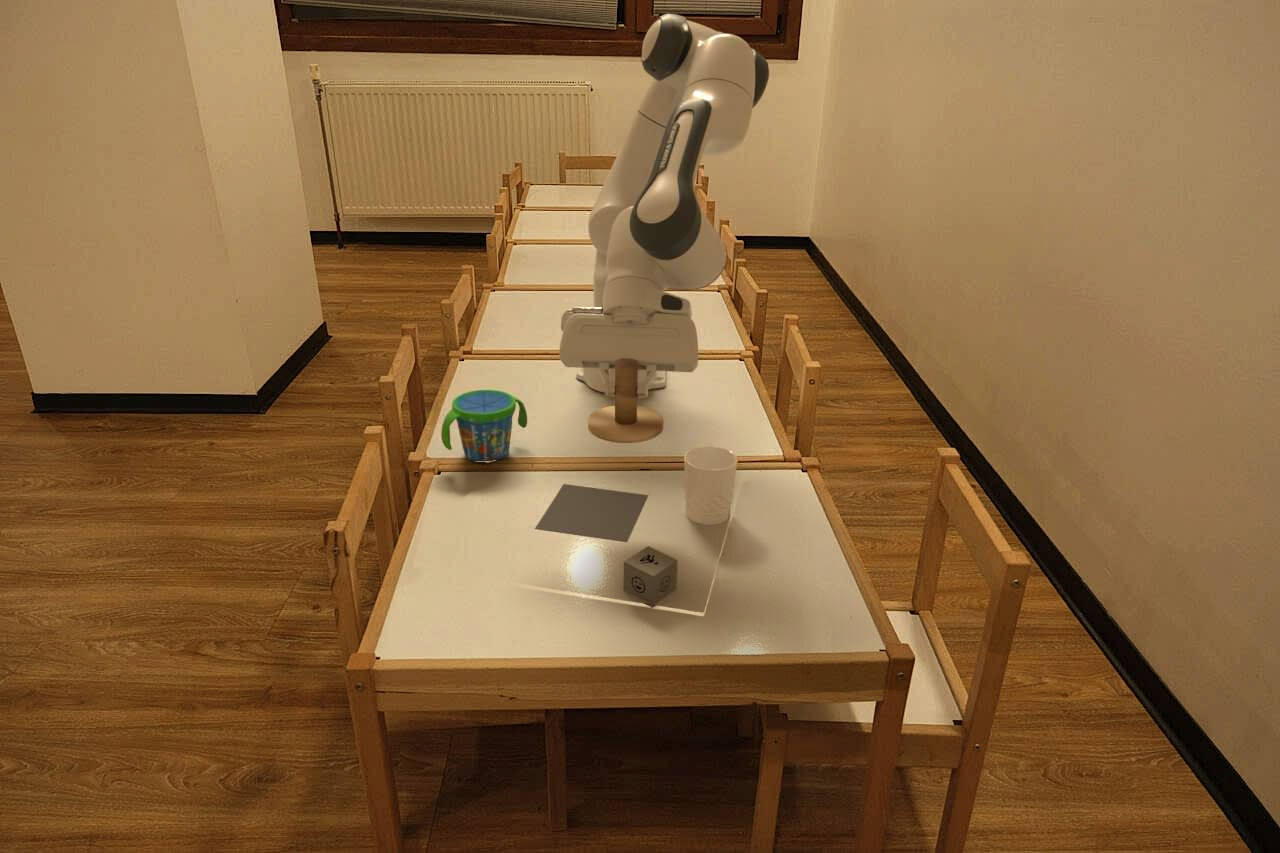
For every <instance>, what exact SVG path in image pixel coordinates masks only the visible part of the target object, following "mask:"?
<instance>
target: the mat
mask: <svg viewBox="0 0 1280 853" xmlns="http://www.w3.org/2000/svg"><path fill="white" fill-rule="evenodd" d="M648 497H649V495H648V494H643V493H642V494H641V493H635V492H634V493H633V492H627V491H619V490H612V489H605V488H604V489H603V488H597V487H590V486H581V485H575V484H574V485H573V484H568V483H563V484H562V486H561V487H560V489H559V491H558V492H557V494H556V495H555V497H554V498H553V499H552V501H551V503H550V504H549V506H548V507H547V509H546V511H545V512H544V514H543V516H542V517H541V518H540V520H539V521H538V523H537V525H536V526H535V528H534V529H535V530H540V531H546V532H547V531H548V532H555V533H562V534H568V535H576V536H582V537H588V538H589V537H590V538H596V539H603V540H609V541H617V542H623V543H628V541H629V538H630V536H631V534H632V532H633V530H634V528H635V525H636V523H637V521H638V518H639V516H640V514H641V512H642V510H643V508H644V505H645V503H646V501H647V499H648Z"/></svg>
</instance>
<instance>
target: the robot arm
mask: <svg viewBox="0 0 1280 853" xmlns="http://www.w3.org/2000/svg"><path fill="white" fill-rule="evenodd" d="M640 61H641V65H642V68H643V71H644V72H646V73H647V74H648V75H649V76H650V77H652V78H653V79H652V80H651V82H650V83H649V86H648V87H647V88H646V91H645V92H644V95H643V97H642V99H641V101H640V103H639V104H638V107H637V109H636V112H635V114H634V116H633V119H632V121H631V122H630V123H631V124H630V127H629V129H628V130H627V133H626V135H625V138H624V141H623V143H622V145H621V147H620V149H619V151H618V153H617V156H616V157H615V159H614V162H613V163H612V166H611V169H610V170H609V172H608V173H607V174H608V175H607V176H606V179H605V181H604V183H603V186H602V187H601V189H600V191H599V194H598V196H597V199H596V201H595V203H594V205H593V207H592V210H591V212H590V214H589V217H588V222H587V229H588V231H587V232H588V234H589V239H590V241H591V244H592V245H593V247H594V248H595V250H596V251H595V252H596V253H595V264H594V270H593V271H594V272H593V306H589V307H582V306H573V307H572V309H571V308H570V309H567V310H566V311H564V313H563V314H562V316H561V321H560V329H561V331H562V334H561V339H560V342H559V343H560V344H559V348H558V349H559V350H558V356H559V359H560V361H561V363H562V364H563V365H564V367H566V368H577V369H578V371H576V376H575V378H576V379H578V380H580V381H583V382H584V383H585V384H586V385H587V386H588V387H589V388H591V389H593V390H595V391H597V392H600V393H604V395H605V397H615V361H616V360H619V359H624V358H629V359H634V360H636V361H637V362H638V382H637V398H640V399H641V398H642V399H643V398H644V399H646V398H647V399H648V395H649V394H648V393H649V392H648V391H649V390H652V389H653V390H654V389H660V388H661V389H662V388H664V387H666V384H667V381H666V380H667V372H672V373H675V372H676V373H693V372H694V371H695V370H696V369H697V368H698V366H699V342H698V340H699V338H698V334H697V333H698V332H697V328H696V324H695V322H694V321H693V319H692V316H693V315H692V314H693V313H692V312H693V311H692V310H693V309H692V305H691V302H690V300H688V299H687V298H685V297H681V296H677V295H674V294H671V293H669V292H666V291H664V290H665V289H666V290H672V291H690V290H692V291H693V290H700V289H704V288H706V287H707V286H710V285H711V284H713V283H714V282H715V281H717V279H719V277H721V275H722V273H723V271H724V270H725V268H726V266H727V265H726V264H727V261H728V249H727V247H726V245H725V243H724V241H723V239H722V238H721V236H720V235H719V233H718V231H717V230H716V229H715V227H714V225H713V224H712V223H711V221H710V220H709V218H708V217H707V215H706V214H705V212H704V211H703V209H702V207H701V205H700V202H699V200H698V198H697V194H696V191H695V182H696V178H697V176H698V171H699V168H700V165H701V160H702V158H703V157H718V156H723V155H727V154H729V153H731V152H733V151H735V150H736V149H737V148H739V147H740V146H741V144H743V142H744V140H745V138H746V135H747V133H748V130H749V126H750V123H751V118H752V115H753V114H752V112H753V108H755V107H756V106H757V104H758V103H759V101H760V100H761V99H762V97H763V94H764V93H765V91H766V88H767V85H768V82H769V77H770V69H769V62H768V61H767V59H766V58H765V57H764V56H763V55H761V54H760V53H759V52H758V51H757V50H755V49H754V48H752V47H751V46H750V45H749V44H748V42H747V41H745V40H744V39H743V38H741V37H740V36H738V35H735V34H732V33H724V32H722V31H717V30H714V29H713V28H711V27H709V26H708V27H707V26H706V25H703V24H700V23H698V22H695V21H691V20H688V19H687V18H686V17H685V16H683V15H679V14H676V13H664V14H662V15H661V16H658V17H657V19H656V20H655V21H654V22H653V24H652V25H651V26H650V27H649V28H648V30H647V32H646V34H645V37H644V39H643V42H642V47H641V58H640ZM579 368H581V369H579Z"/></svg>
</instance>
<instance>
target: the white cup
mask: <svg viewBox="0 0 1280 853" xmlns="http://www.w3.org/2000/svg"><path fill="white" fill-rule="evenodd" d="M683 460H684V461H683V462H684V466H683V467H684V470H683V472H684V473H683V475H684V476H683V477H684V478H683V480H684V484H683V485H684V486H683V487H684V500H685V502H684V503H685V509H684V510H685V516H686V517H687V519H689V520H690V521H691V522H694V523H697V524H699V525H706V526H707V525H709V526H713V525H715V526H716V525H719V524H720V525H721V524H722V523H724V522H726V521H728V519H729V517H730V515H731V506H732V502H733V497H734V496H733V495H734V489H735V482H736V474H737V466H738V456H737V455H736V454H735V453H734V452H733V451H731V450H730V449H727V448H724V447H720V446H713V445H702V446H701V445H700V446H695V447H693V448H691V449H689V450H687V451H686V452H685V454H684V458H683Z"/></svg>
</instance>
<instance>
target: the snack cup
mask: <svg viewBox="0 0 1280 853" xmlns="http://www.w3.org/2000/svg"><path fill="white" fill-rule="evenodd" d="M516 404H517V405H518V407H519V409H518V410H519V411H518V417H517V424H518V425H519V426H520V427H521V428H527V426H528V414H527V410H526V409H527V408H526V407H525V405H524V403H523V402H522V401H521V400H520V399H519V398H517V397H515V396H513V395H512V394H510V393H508V392H504V391H502V390H501V391H500V390H498V389H497V390H496V389H478V390H471V391H468V392H465V393H464V392H463V393H461V394H460V395H457V396H456V397H455V398H454V399H453V400H452V404H451V406H452V407H451V409H450V410H449V411H448V413H446V415H445V417H444V420H443V422H442V427H441V435H440V436H441V442H442V444H443V446H444V447H445V448H446V449H447V450H449V451H452V445H451V428H450V427H451V425H452V424H453V422H454V421H455V420H456V423H457V428H458V432H459V436H460V442H461V445H462V449H463V453H464V456H465V457H466V460H468V459H469V460H468V461H471V460H473V461H472V462H474V461H493V460H498V459H501V460H502V459H504V458H507V457H508V453H509V451H510V444H511V438H512V429H513V416H514V414H515V411H516V408H517V407H516V406H517V405H516ZM498 461H499V460H498Z"/></svg>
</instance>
